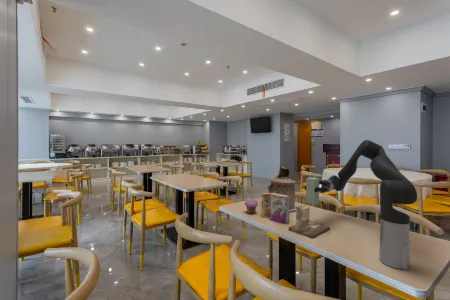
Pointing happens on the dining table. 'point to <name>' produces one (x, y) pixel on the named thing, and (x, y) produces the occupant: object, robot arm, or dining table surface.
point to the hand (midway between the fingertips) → (310, 189)
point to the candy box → (266, 204)
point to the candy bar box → (279, 208)
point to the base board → (311, 230)
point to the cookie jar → (284, 186)
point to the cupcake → (251, 205)
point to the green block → (312, 190)
